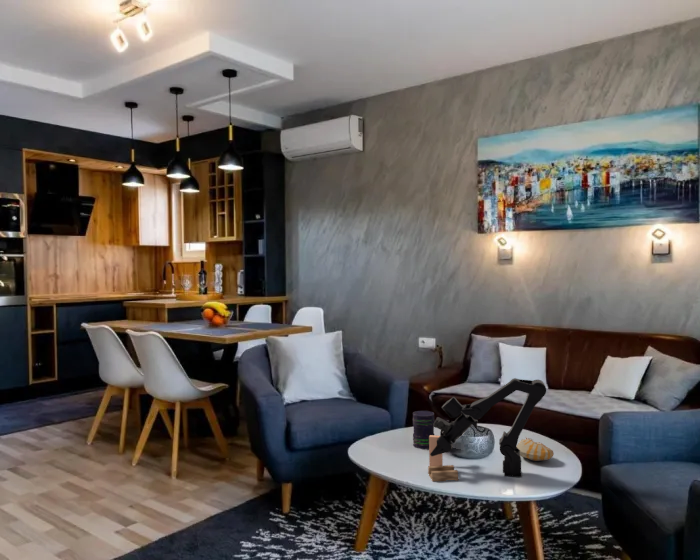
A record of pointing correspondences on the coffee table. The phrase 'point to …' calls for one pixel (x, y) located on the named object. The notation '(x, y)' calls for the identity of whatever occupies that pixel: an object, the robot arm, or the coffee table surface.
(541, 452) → the nautilus
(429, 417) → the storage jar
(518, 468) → the robot arm
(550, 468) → the coffee table surface
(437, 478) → the rack
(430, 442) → the peach rectangular block
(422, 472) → the coffee table surface
